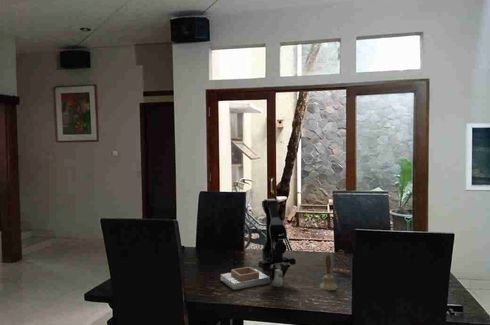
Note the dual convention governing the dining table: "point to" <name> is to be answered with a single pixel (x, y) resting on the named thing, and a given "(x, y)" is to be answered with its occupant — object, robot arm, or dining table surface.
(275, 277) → the spout can
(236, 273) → the grey board with frame
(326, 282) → the hand bell
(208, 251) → the dining table surface
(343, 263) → the gingerbread man figurine
